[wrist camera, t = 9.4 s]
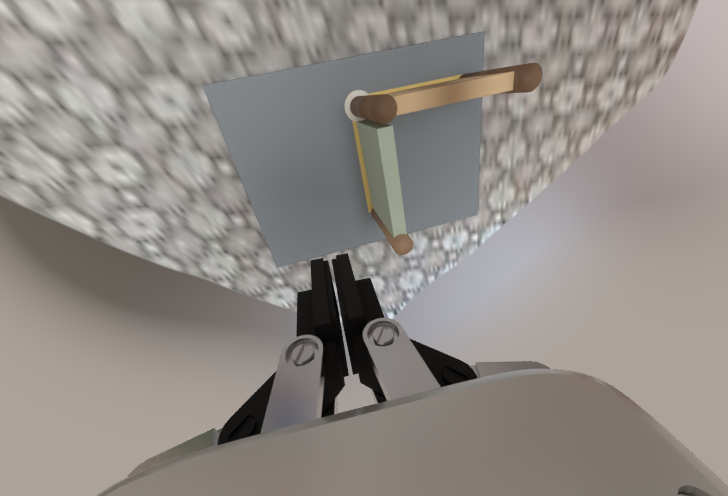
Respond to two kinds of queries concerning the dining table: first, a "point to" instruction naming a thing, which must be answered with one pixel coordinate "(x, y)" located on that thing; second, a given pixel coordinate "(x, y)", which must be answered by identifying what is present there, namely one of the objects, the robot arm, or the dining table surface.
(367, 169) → the fence gate
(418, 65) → the card
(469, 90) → the fence fixed
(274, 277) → the dining table surface
